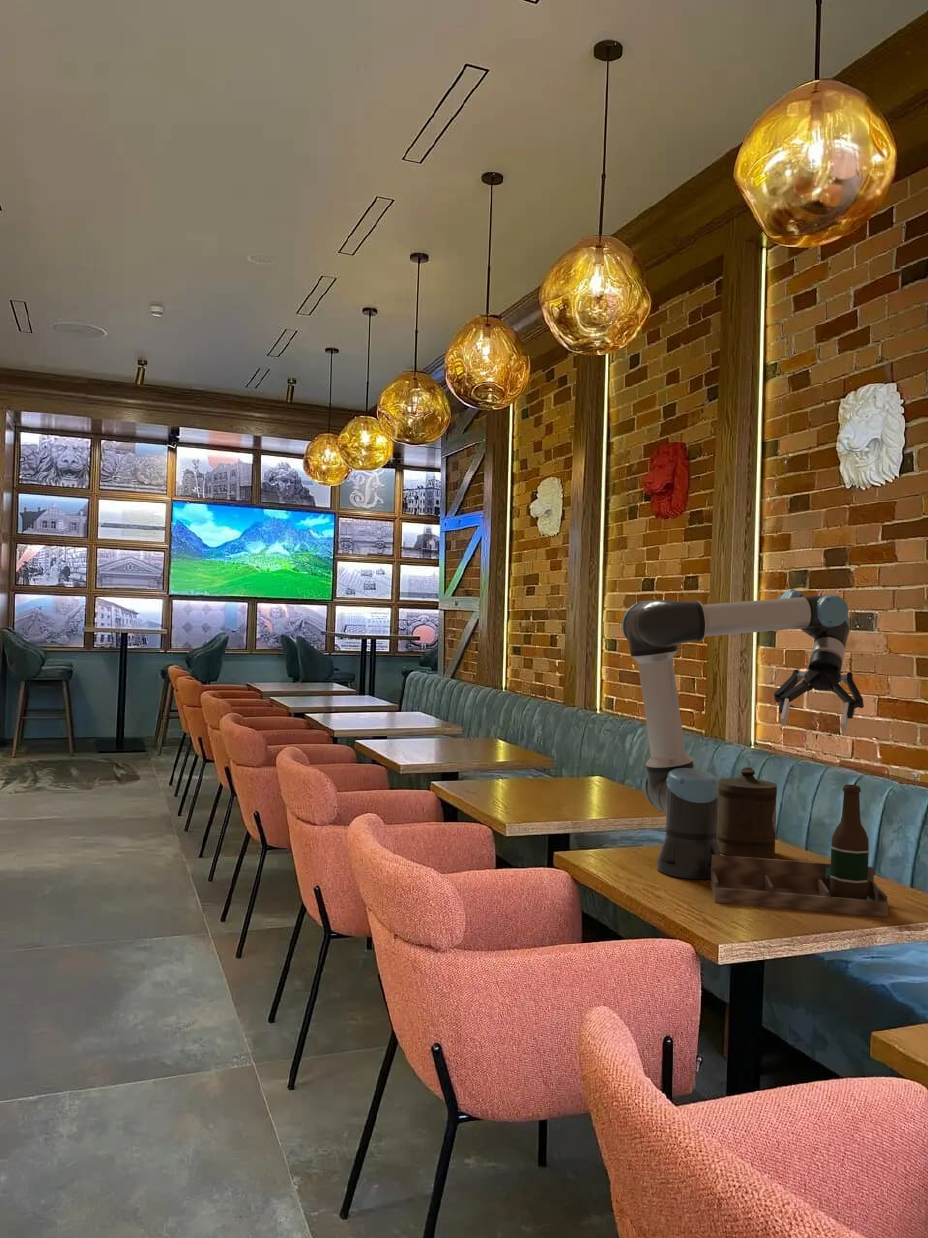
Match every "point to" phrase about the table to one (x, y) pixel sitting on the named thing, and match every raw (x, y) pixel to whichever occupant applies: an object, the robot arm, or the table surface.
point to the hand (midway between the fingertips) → (812, 724)
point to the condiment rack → (787, 886)
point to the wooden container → (746, 816)
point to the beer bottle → (849, 851)
